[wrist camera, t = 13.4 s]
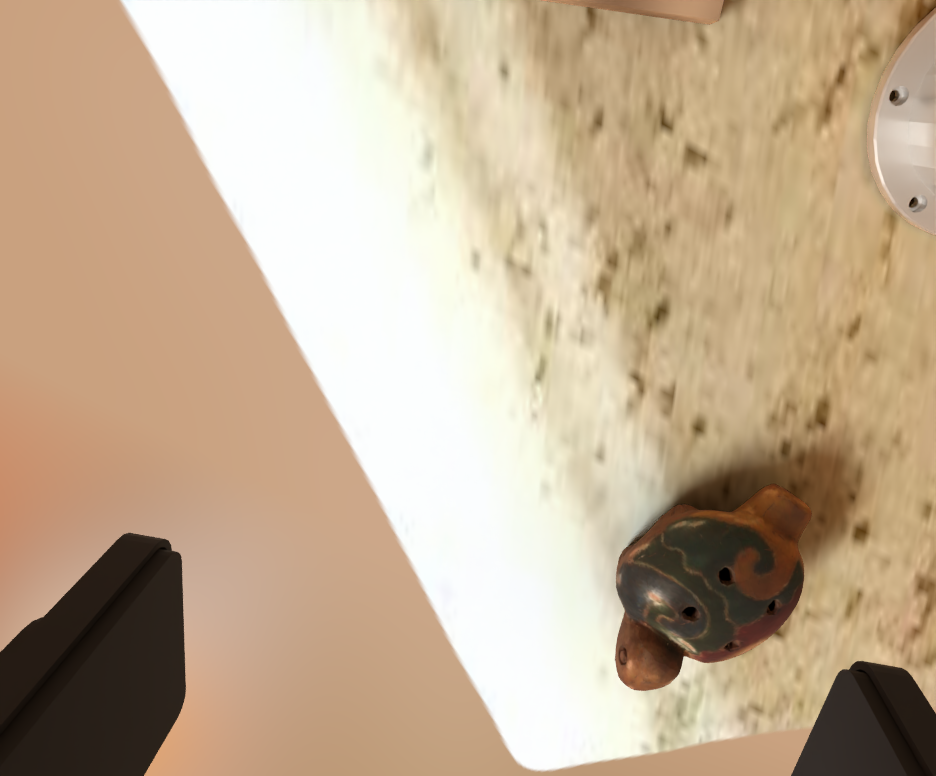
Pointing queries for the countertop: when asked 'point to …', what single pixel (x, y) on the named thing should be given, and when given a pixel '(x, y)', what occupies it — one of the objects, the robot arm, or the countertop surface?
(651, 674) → the decorative turtle
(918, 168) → the robot arm
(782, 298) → the countertop surface
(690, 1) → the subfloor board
